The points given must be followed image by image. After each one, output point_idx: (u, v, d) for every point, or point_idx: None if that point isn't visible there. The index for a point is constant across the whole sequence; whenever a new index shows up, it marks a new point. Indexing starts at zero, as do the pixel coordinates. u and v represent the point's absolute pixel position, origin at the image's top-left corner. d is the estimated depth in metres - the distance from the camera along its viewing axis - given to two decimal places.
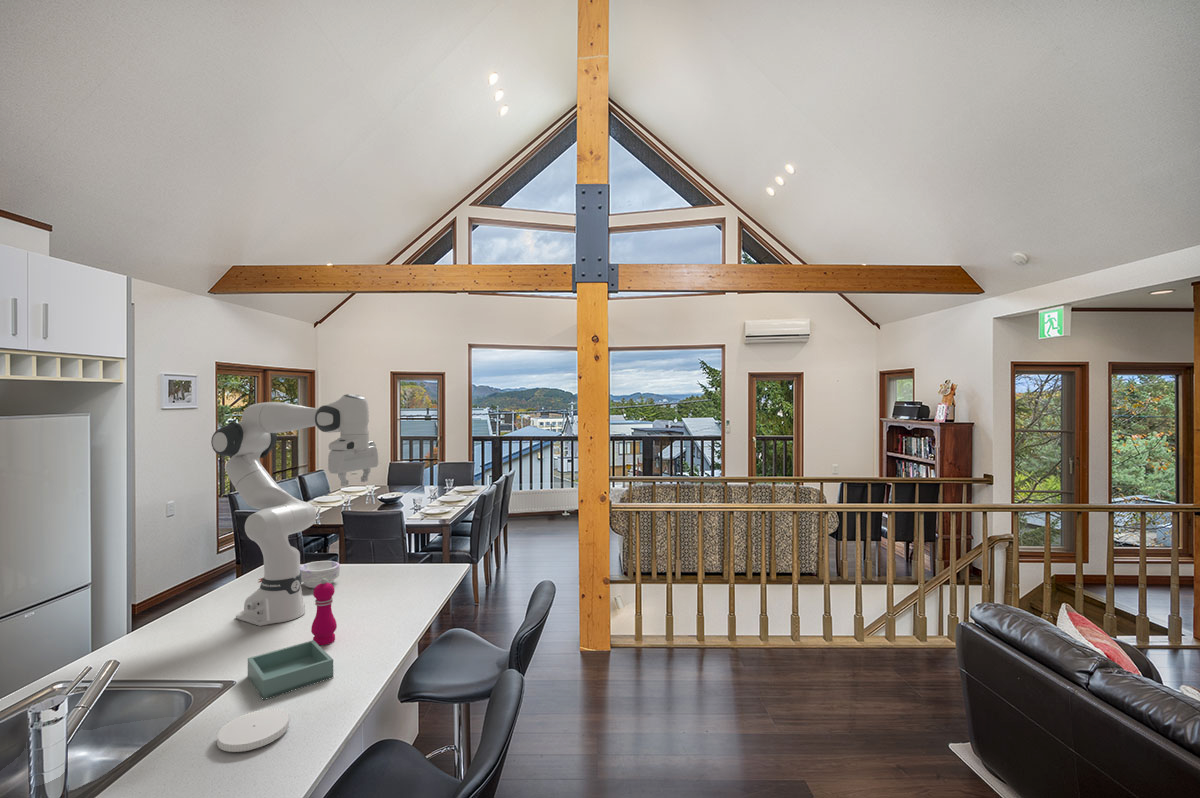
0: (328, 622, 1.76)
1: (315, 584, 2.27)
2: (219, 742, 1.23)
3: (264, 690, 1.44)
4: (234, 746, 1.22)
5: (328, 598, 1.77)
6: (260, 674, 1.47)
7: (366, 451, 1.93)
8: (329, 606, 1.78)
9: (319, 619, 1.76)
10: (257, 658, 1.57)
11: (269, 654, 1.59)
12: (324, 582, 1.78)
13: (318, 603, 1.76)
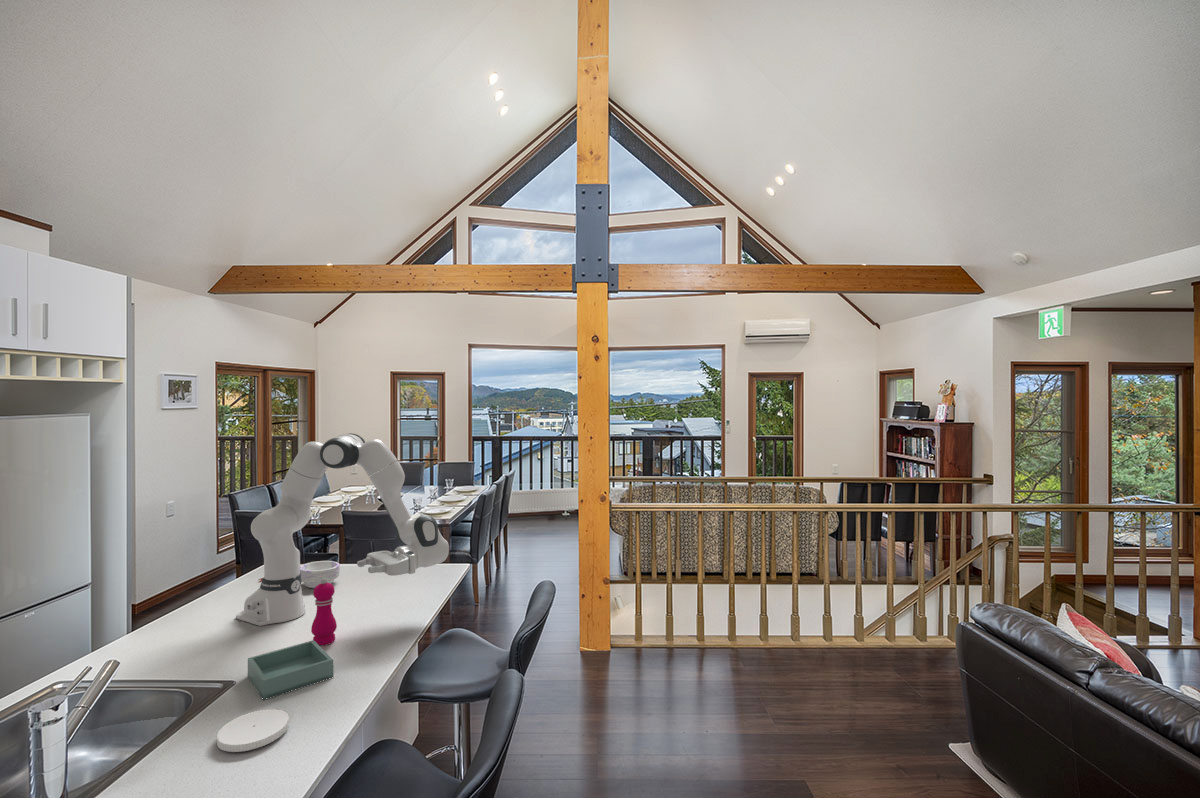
0: (328, 622, 1.76)
1: (315, 584, 2.27)
2: (219, 742, 1.23)
3: (264, 690, 1.44)
4: (234, 746, 1.22)
5: (328, 598, 1.77)
6: (260, 674, 1.47)
7: None
8: (329, 606, 1.78)
9: (319, 619, 1.76)
10: (257, 658, 1.57)
11: (269, 654, 1.59)
12: (324, 582, 1.78)
13: (318, 603, 1.76)
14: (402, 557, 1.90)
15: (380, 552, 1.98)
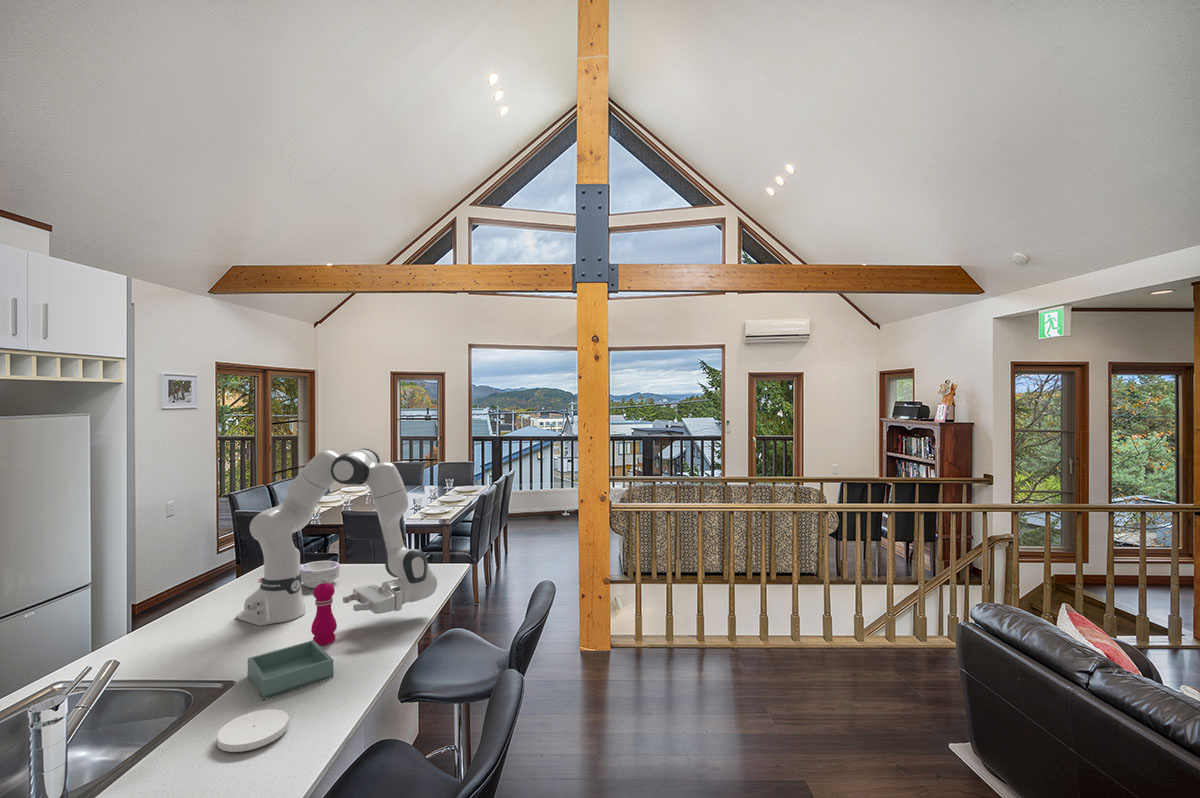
0: (328, 622, 1.76)
1: (315, 584, 2.27)
2: (219, 742, 1.23)
3: (264, 690, 1.44)
4: (234, 746, 1.22)
5: (328, 598, 1.77)
6: (260, 674, 1.47)
7: None
8: (329, 606, 1.78)
9: (319, 619, 1.76)
10: (257, 658, 1.57)
11: (269, 654, 1.59)
12: (324, 582, 1.78)
13: (318, 603, 1.76)
14: (388, 594, 1.87)
15: (366, 587, 1.95)
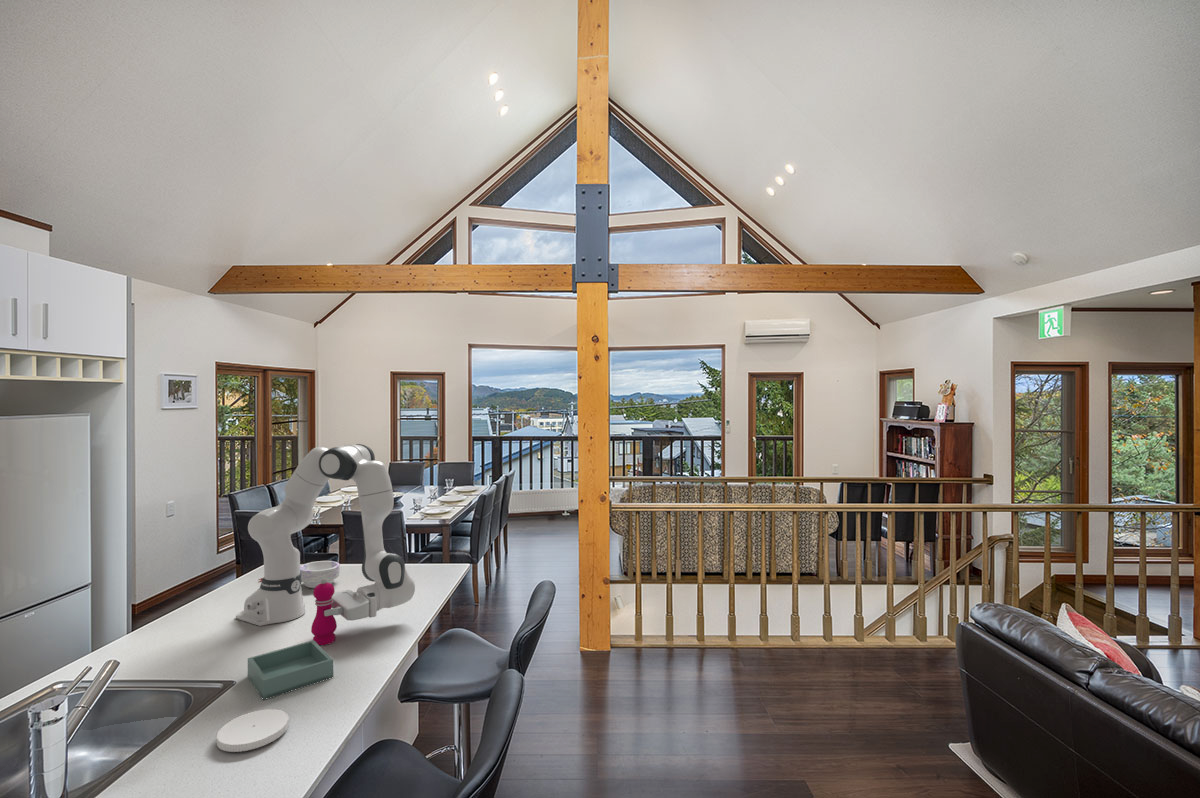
0: (328, 622, 1.76)
1: (315, 584, 2.27)
2: (219, 742, 1.23)
3: (264, 690, 1.44)
4: (234, 746, 1.22)
5: (328, 598, 1.77)
6: (260, 674, 1.47)
7: None
8: (329, 606, 1.78)
9: (319, 619, 1.76)
10: (257, 658, 1.57)
11: (269, 654, 1.59)
12: (324, 582, 1.78)
13: (318, 603, 1.76)
14: (362, 599, 1.81)
15: (341, 592, 1.89)
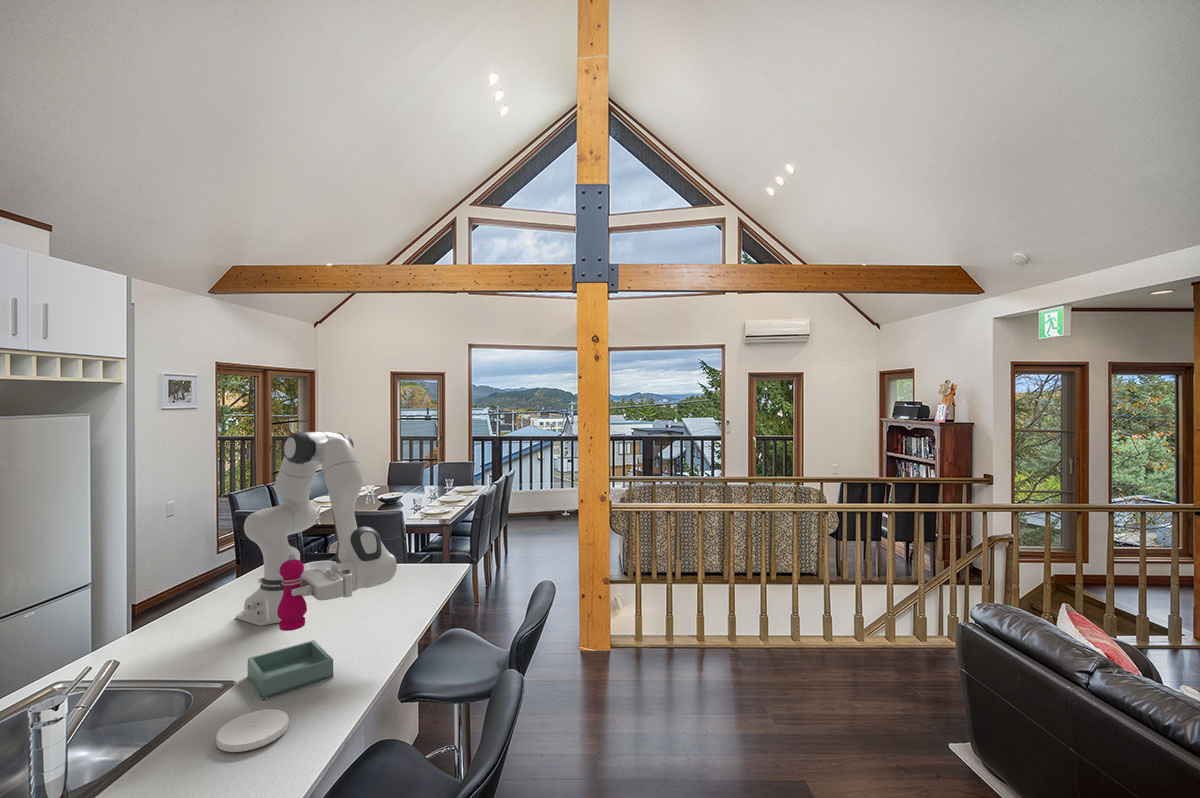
0: (296, 604, 1.54)
1: None
2: (218, 742, 1.23)
3: (264, 690, 1.44)
4: (233, 746, 1.22)
5: (296, 577, 1.55)
6: (260, 674, 1.47)
7: None
8: (298, 586, 1.56)
9: (286, 601, 1.54)
10: (257, 658, 1.57)
11: (269, 654, 1.59)
12: (292, 558, 1.56)
13: (285, 582, 1.54)
14: (336, 577, 1.59)
15: (313, 570, 1.67)
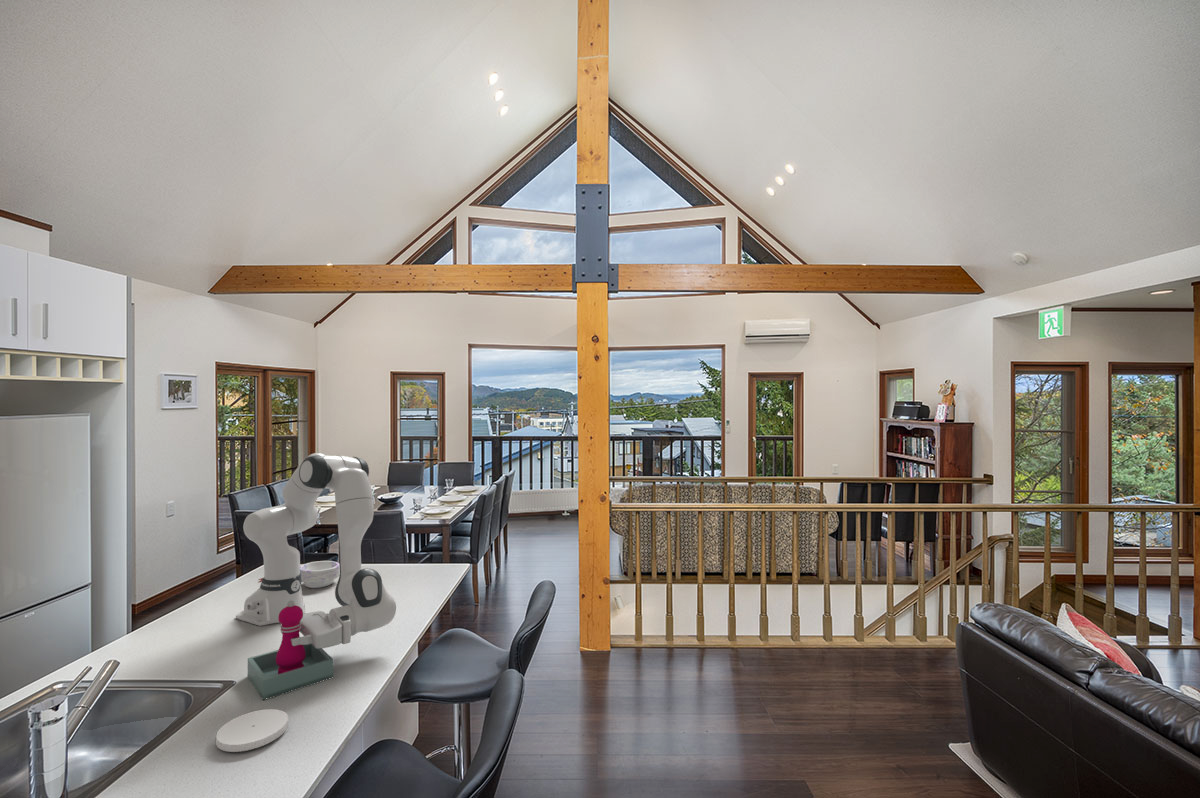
0: (295, 651, 1.54)
1: (315, 584, 2.27)
2: (218, 742, 1.23)
3: (264, 690, 1.44)
4: (233, 746, 1.22)
5: (295, 623, 1.55)
6: (260, 674, 1.47)
7: None
8: (297, 632, 1.56)
9: (284, 648, 1.54)
10: (257, 658, 1.57)
11: (269, 654, 1.59)
12: (291, 605, 1.55)
13: (284, 629, 1.54)
14: (335, 624, 1.58)
15: (312, 614, 1.67)
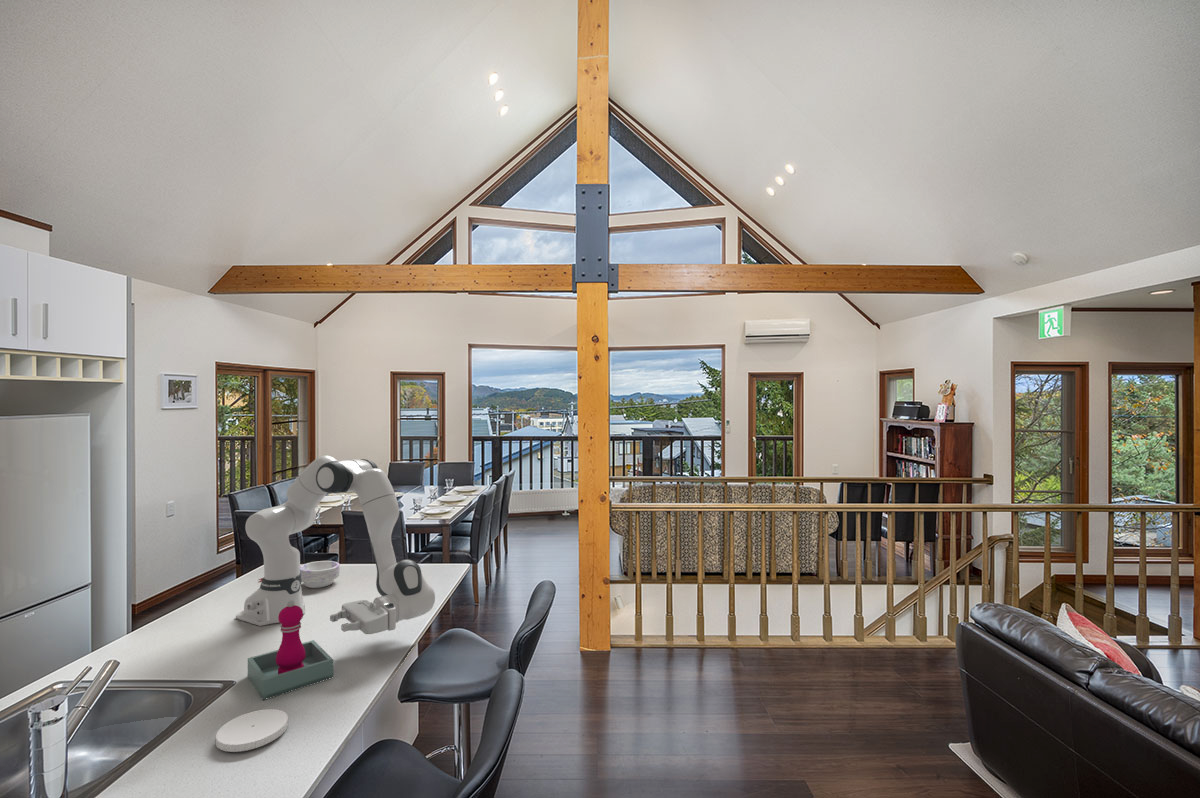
0: (295, 651, 1.54)
1: (315, 584, 2.27)
2: (218, 742, 1.23)
3: (264, 690, 1.44)
4: (233, 746, 1.22)
5: (295, 623, 1.55)
6: (260, 674, 1.47)
7: None
8: (296, 632, 1.56)
9: (284, 648, 1.54)
10: (257, 658, 1.57)
11: (269, 654, 1.59)
12: (291, 605, 1.55)
13: (283, 629, 1.54)
14: (381, 611, 1.67)
15: (357, 603, 1.76)
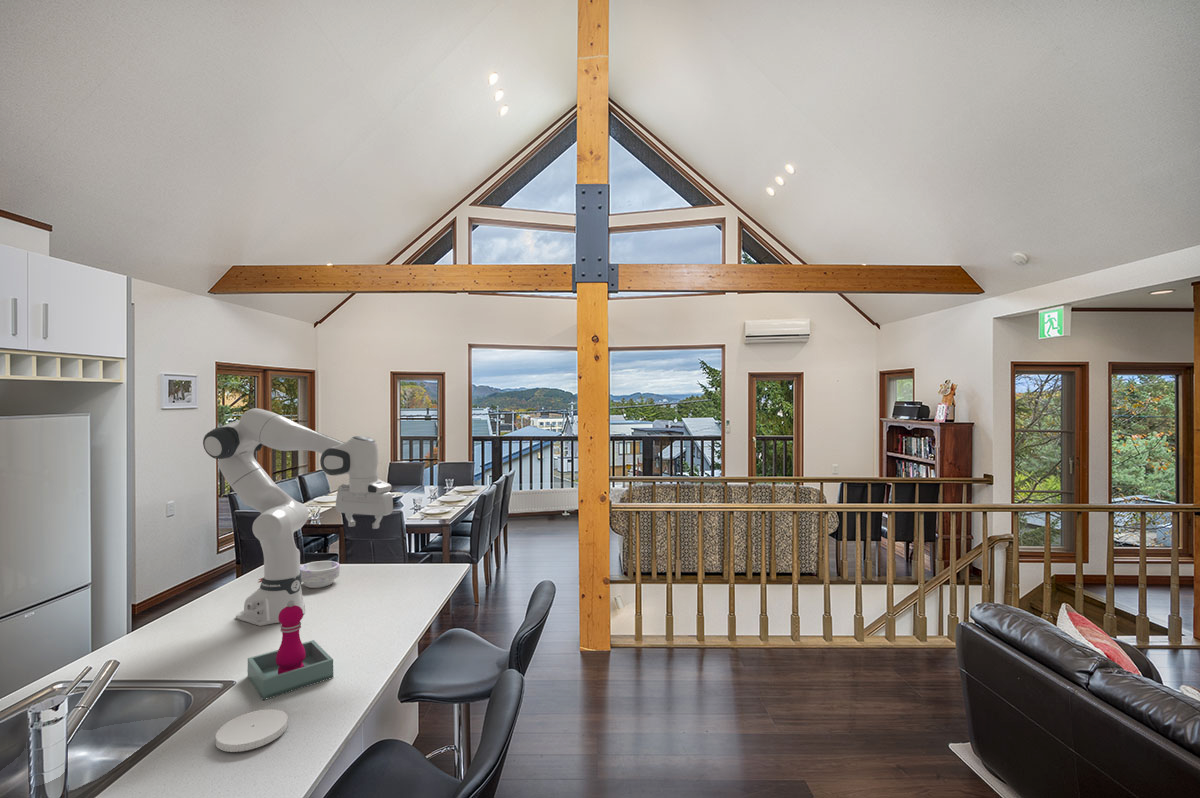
0: (295, 651, 1.54)
1: (315, 584, 2.27)
2: (218, 742, 1.23)
3: (264, 690, 1.44)
4: (233, 746, 1.22)
5: (295, 623, 1.55)
6: (260, 674, 1.47)
7: None
8: (296, 632, 1.56)
9: (284, 648, 1.54)
10: (257, 658, 1.57)
11: (269, 654, 1.59)
12: (291, 605, 1.55)
13: (284, 629, 1.54)
14: (374, 496, 1.83)
15: (341, 500, 1.87)
